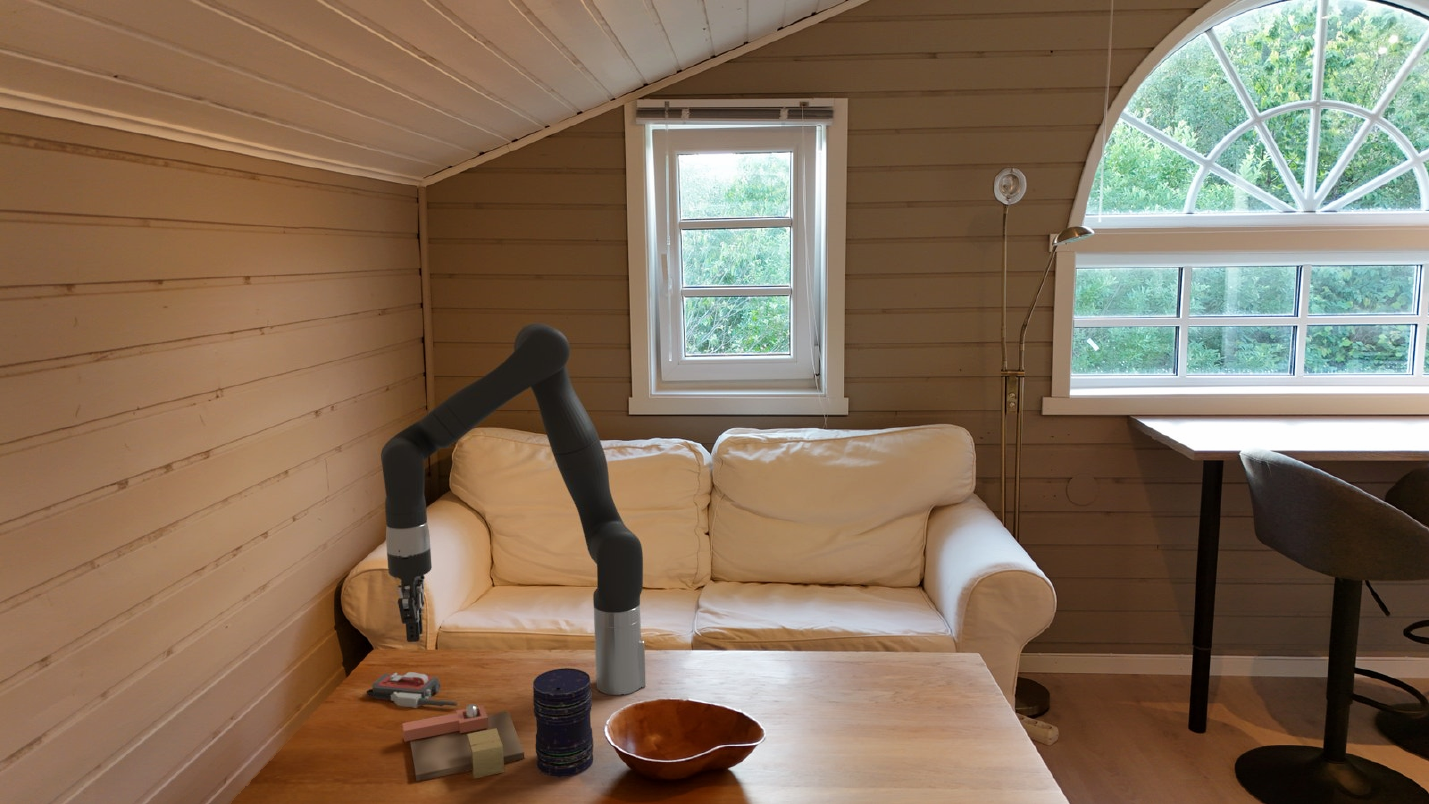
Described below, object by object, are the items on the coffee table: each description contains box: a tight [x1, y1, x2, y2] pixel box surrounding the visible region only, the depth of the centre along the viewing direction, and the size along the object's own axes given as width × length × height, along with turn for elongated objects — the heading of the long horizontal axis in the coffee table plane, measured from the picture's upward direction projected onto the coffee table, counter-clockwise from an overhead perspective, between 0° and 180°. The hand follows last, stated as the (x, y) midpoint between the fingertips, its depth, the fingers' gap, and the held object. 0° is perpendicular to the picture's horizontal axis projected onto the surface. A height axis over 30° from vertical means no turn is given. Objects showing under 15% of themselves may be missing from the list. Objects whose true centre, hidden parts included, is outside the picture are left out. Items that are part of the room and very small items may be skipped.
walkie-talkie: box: [366, 671, 458, 709], centre depth 188 cm, size 9×4×20 cm
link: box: [402, 704, 488, 743], centre depth 172 cm, size 14×5×2 cm, turn 112°
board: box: [409, 710, 525, 782], centre depth 169 cm, size 18×16×1 cm
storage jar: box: [532, 667, 594, 779], centre depth 163 cm, size 10×10×15 cm
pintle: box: [465, 703, 477, 719], centre depth 174 cm, size 2×2×5 cm
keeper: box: [467, 728, 505, 779], centre depth 163 cm, size 5×6×5 cm
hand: (414, 637), depth 175 cm, fingers closed
